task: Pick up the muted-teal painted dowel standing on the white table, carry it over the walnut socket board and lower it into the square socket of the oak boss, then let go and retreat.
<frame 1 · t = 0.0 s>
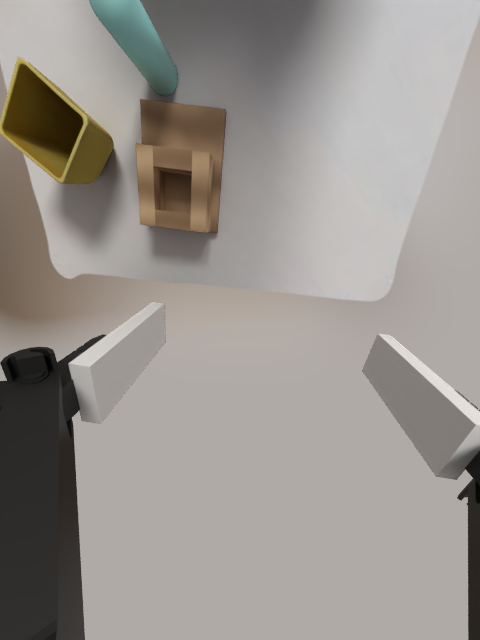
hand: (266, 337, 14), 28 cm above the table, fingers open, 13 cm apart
flower pot: (93, 148, 35), on the table
socket board: (183, 195, 36), on the table
peg: (163, 76, 30), on the table
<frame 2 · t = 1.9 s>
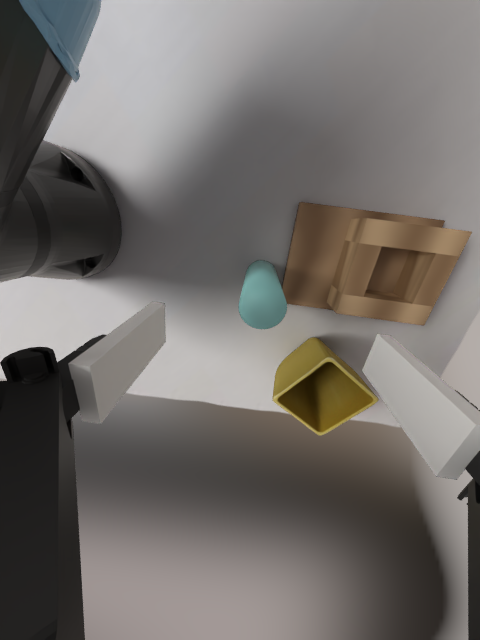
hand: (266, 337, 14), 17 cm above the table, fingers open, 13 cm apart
flower pot: (308, 356, 34), on the table
socket board: (375, 267, 28), on the table
peg: (260, 275, 29), on the table
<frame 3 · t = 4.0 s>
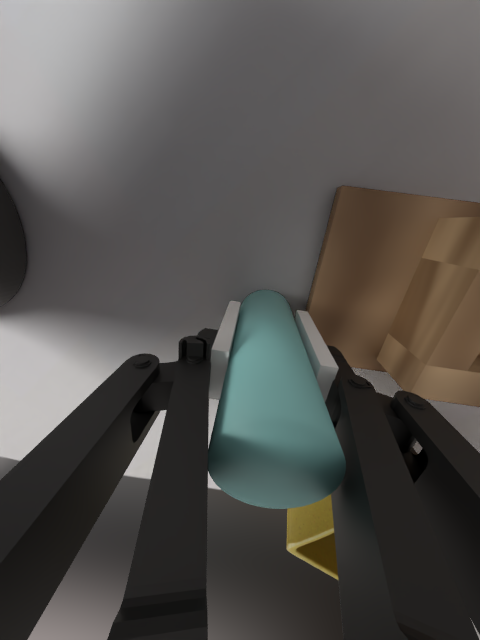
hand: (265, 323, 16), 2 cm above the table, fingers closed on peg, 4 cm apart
flower pot: (337, 431, 22), on the table
socket board: (465, 303, 16), on the table
peg: (264, 314, 17), on the table, touching gripper
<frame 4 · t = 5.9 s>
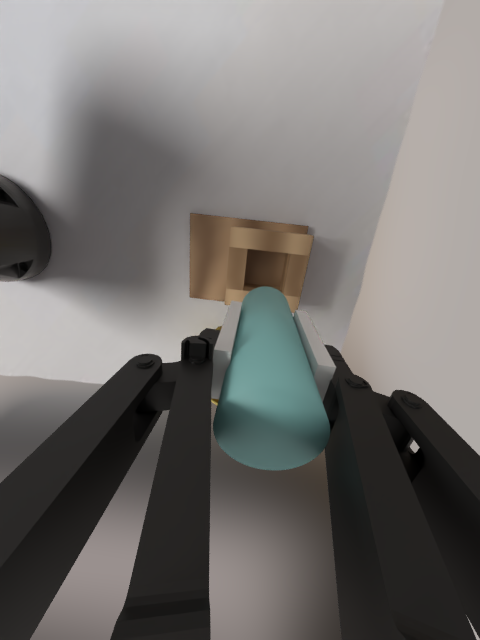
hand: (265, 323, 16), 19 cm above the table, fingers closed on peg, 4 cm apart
socket board: (264, 265, 33), on the table
peg: (264, 309, 19), point 16 cm above the table, touching gripper
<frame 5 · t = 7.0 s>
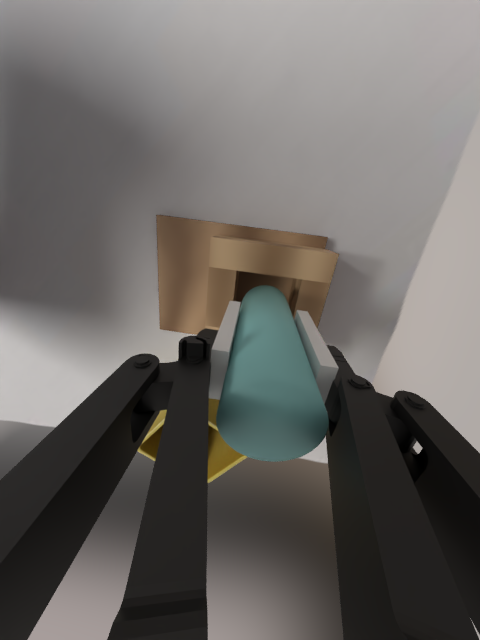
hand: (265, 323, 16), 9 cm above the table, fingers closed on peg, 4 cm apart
flower pot: (210, 387, 30), on the table
socket board: (262, 289, 24), on the table
peg: (264, 308, 19), point 5 cm above the table, touching gripper
when the fingers open (5 cm above the table, at t = 7.9 s): peg stays where it is, resting on socket board.
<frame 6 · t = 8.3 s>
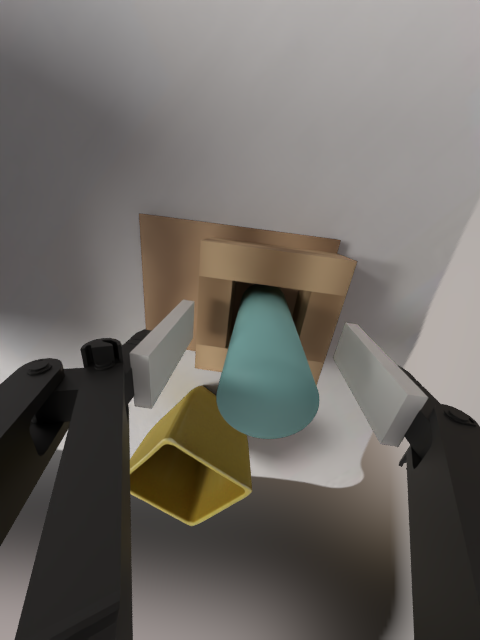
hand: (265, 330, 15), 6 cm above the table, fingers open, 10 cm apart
flower pot: (205, 406, 27), on the table
socket board: (263, 300, 21), on the table
peg: (263, 304, 20), point 1 cm above the table, touching socket board
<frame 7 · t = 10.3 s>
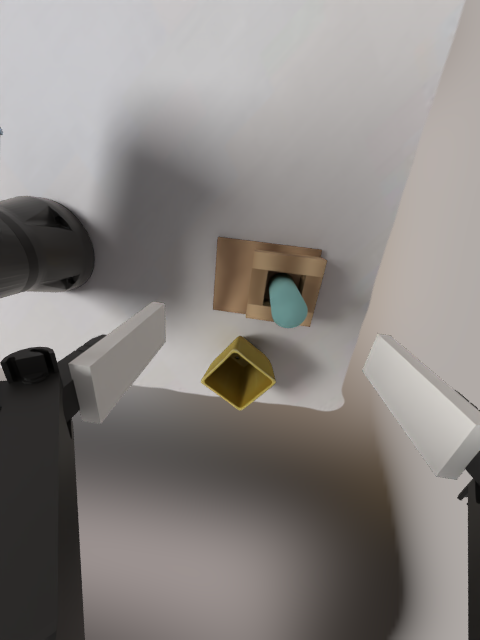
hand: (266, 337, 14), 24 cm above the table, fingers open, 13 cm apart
flower pot: (242, 352, 43), on the table
socket board: (281, 283, 37), on the table
peg: (281, 285, 36), point 1 cm above the table, touching socket board
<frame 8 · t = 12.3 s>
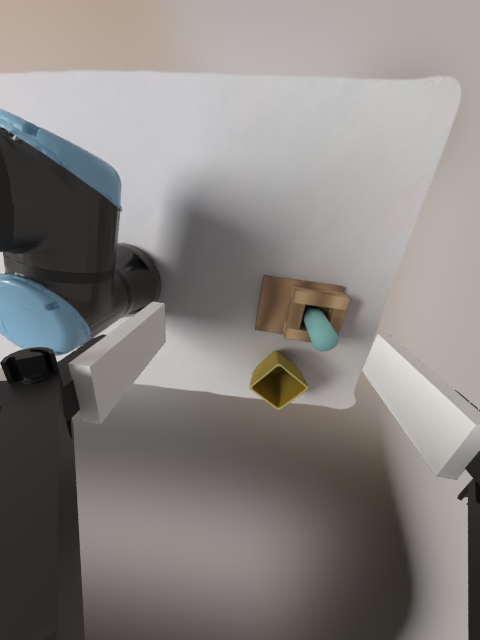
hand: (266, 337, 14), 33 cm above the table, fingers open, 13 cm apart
flower pot: (275, 362, 53), on the table
socket board: (310, 310, 47), on the table
peg: (311, 312, 46), point 1 cm above the table, touching socket board
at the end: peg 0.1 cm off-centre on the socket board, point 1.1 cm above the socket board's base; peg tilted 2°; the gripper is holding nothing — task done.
